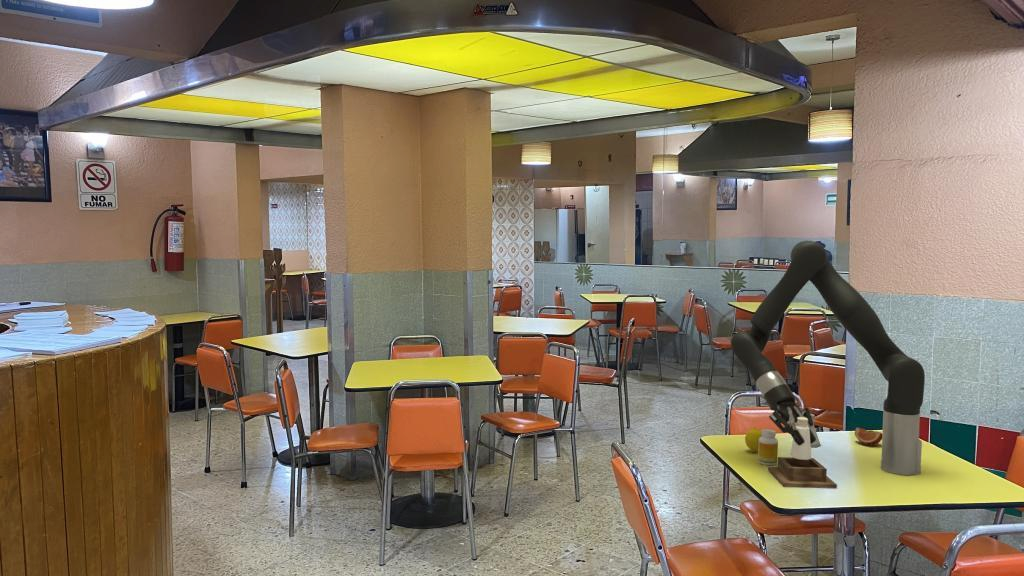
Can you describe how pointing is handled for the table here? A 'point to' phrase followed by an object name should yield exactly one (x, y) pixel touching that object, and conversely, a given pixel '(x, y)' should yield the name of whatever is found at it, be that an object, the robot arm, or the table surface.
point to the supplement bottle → (768, 448)
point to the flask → (817, 442)
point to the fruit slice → (868, 436)
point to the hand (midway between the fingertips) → (807, 442)
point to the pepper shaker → (804, 449)
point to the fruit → (753, 439)
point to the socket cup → (801, 473)
